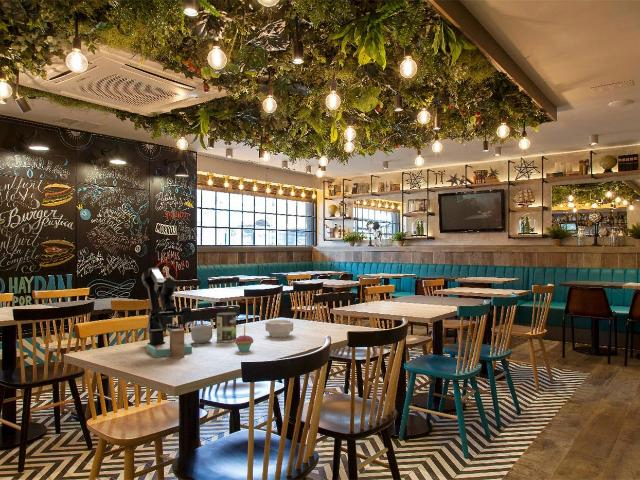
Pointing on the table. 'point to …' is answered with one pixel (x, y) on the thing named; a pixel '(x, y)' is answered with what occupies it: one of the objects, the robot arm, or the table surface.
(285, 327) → the paper bowls
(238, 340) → the cupcake
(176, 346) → the handle block
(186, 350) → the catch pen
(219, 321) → the coffee can
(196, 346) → the table surface
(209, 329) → the teacup
